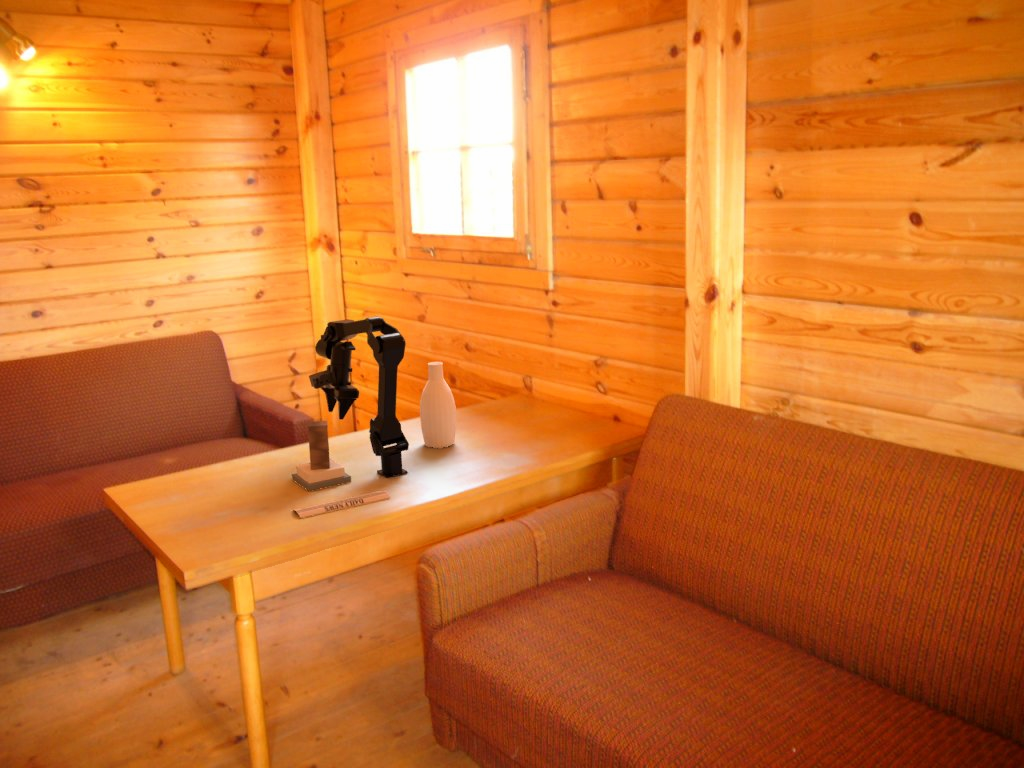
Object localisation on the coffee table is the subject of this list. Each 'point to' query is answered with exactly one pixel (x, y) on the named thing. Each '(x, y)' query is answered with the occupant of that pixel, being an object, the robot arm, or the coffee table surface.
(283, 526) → the coffee table surface
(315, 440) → the walnut block
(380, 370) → the robot arm
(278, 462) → the coffee table surface
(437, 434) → the bottle
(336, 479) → the tower base slab
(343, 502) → the newspaper
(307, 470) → the tower top slab
